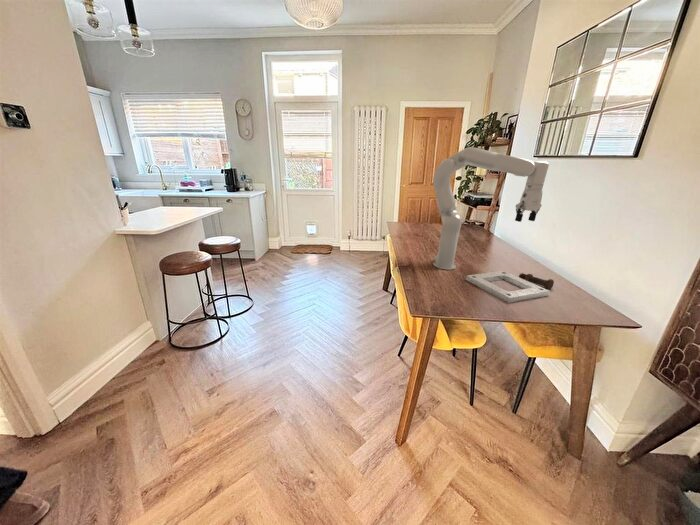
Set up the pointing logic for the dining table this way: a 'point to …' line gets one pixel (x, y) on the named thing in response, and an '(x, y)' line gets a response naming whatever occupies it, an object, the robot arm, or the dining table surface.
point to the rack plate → (511, 296)
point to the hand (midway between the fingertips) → (524, 220)
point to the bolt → (537, 280)
